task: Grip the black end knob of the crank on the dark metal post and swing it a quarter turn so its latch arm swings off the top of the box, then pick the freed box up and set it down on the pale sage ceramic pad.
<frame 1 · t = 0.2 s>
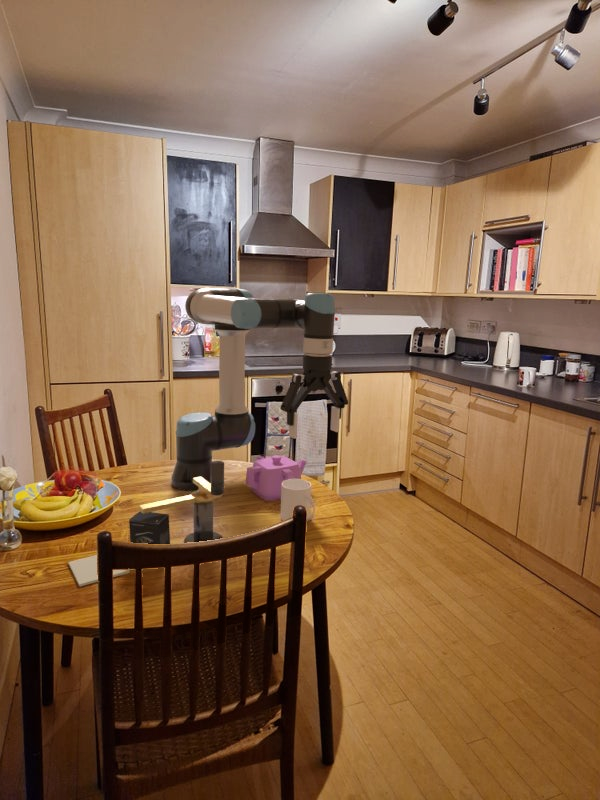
hand: (314, 434, 137), 28 cm above the table, fingers open, 13 cm apart
box: (150, 557, 127), on the table
crank: (183, 484, 125), point 18 cm above the table, hinge at 0.0°
mug: (299, 521, 149), on the table
post: (203, 542, 134), on the table
teakettle: (275, 491, 170), on the table
pad: (98, 568, 121), on the table
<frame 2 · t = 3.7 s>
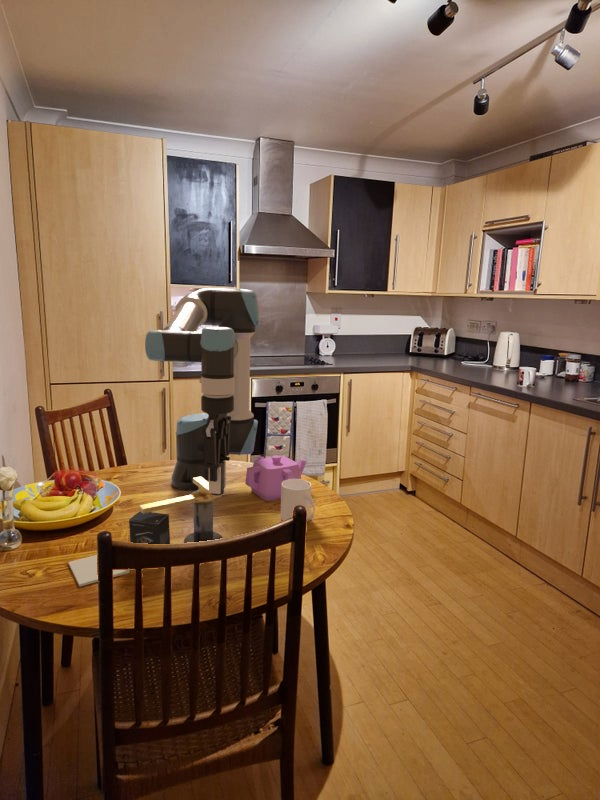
hand: (217, 489, 124), 18 cm above the table, fingers closed on crank, 3 cm apart
crank: (183, 484, 125), point 18 cm above the table, hinge at 0.0°, touching gripper
everything else where it was.
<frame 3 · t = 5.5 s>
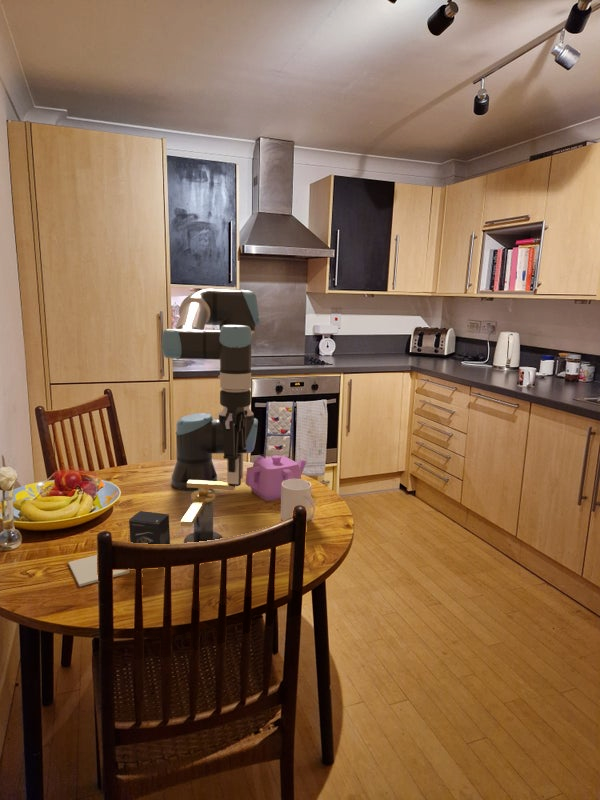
hand: (235, 480, 130), 18 cm above the table, fingers closed on crank, 3 cm apart
crank: (208, 486, 124), point 18 cm above the table, hinge at 51.6°, touching gripper
everything else where it was.
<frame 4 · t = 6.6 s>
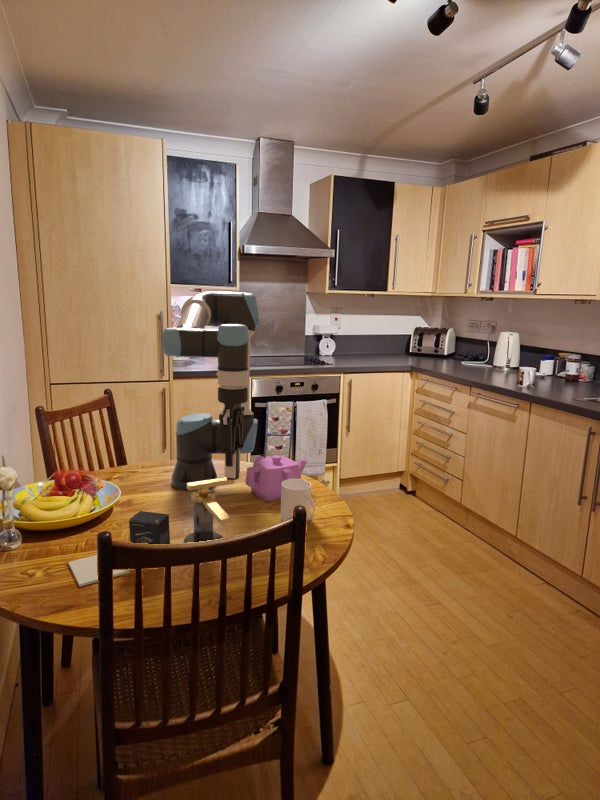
hand: (232, 474, 135), 18 cm above the table, fingers closed on crank, 3 cm apart
crank: (222, 483, 126), point 18 cm above the table, hinge at 84.2°, touching gripper
everything else where it was.
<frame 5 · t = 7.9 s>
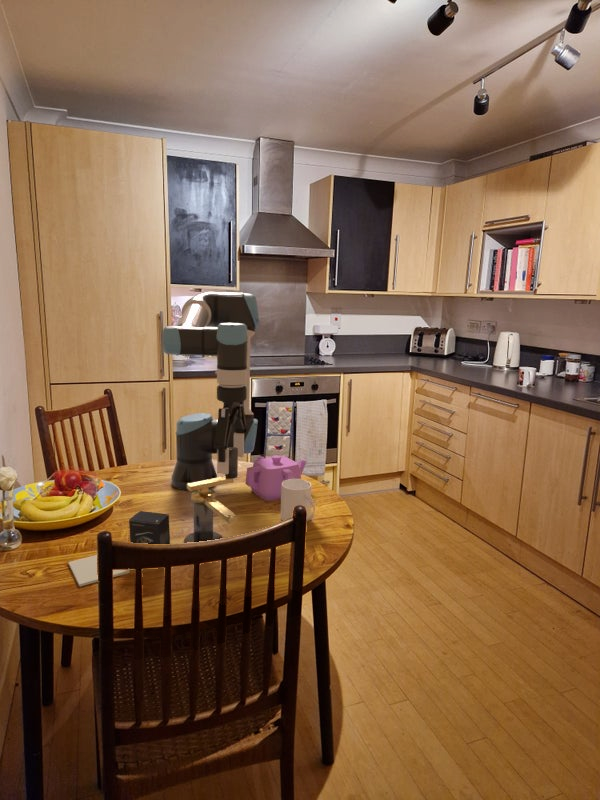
hand: (231, 464, 135), 20 cm above the table, fingers open, 13 cm apart
crank: (225, 482, 127), point 18 cm above the table, hinge at 90.6°
everything else where it was.
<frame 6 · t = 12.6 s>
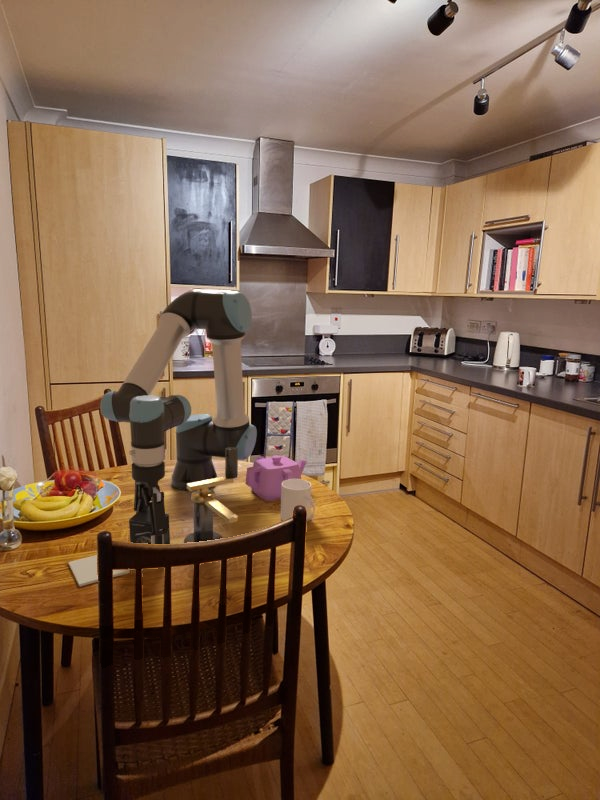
hand: (150, 549, 126), 2 cm above the table, fingers closed on box, 9 cm apart
box: (150, 557, 127), on the table, touching gripper
everything else where it was.
when the fingers open (3 cm above the table, at t = 17.6 s): box stays where it is, resting on pad.
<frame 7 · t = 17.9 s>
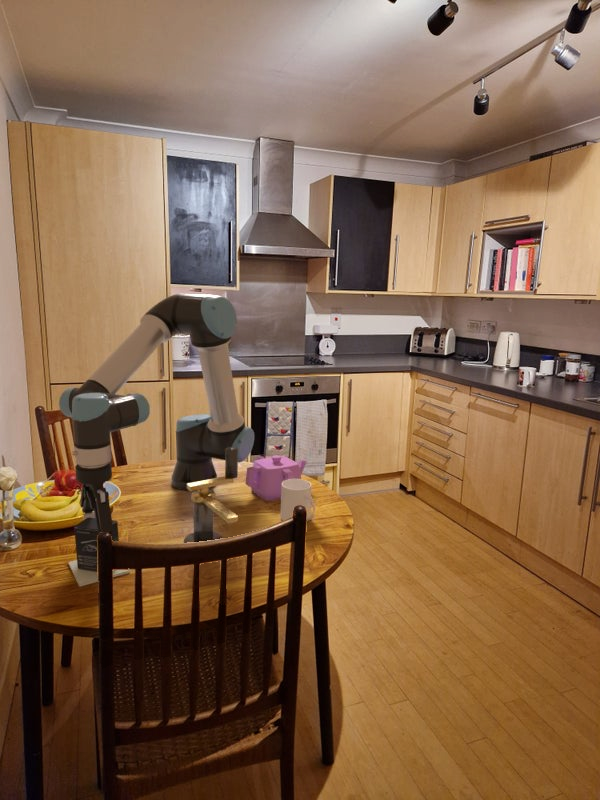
hand: (97, 550, 120), 5 cm above the table, fingers open, 13 cm apart
box: (98, 566, 121), resting on pad
everything else where it was.
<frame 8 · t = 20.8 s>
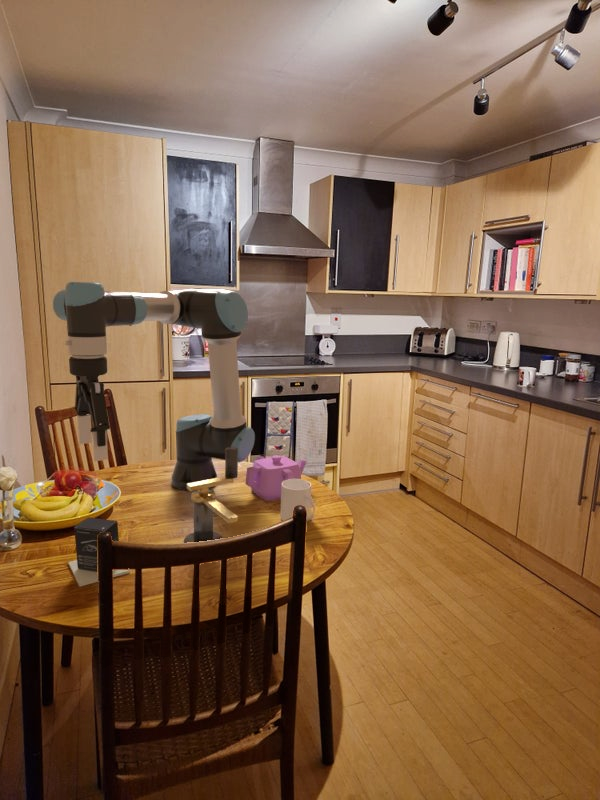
hand: (92, 451, 114), 29 cm above the table, fingers open, 13 cm apart
nothing on the table moved.
at the end: crank at +91° (first picture: +0°); box inside the target area on the pad (0.2 cm from its centre), point 0.4 cm above the pad's base; box tilted 0° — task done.
